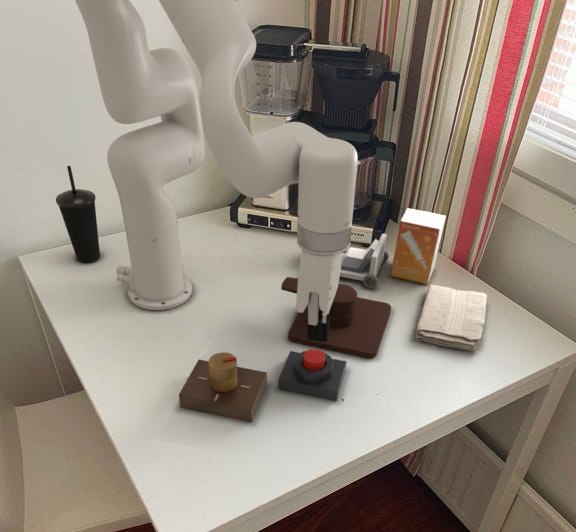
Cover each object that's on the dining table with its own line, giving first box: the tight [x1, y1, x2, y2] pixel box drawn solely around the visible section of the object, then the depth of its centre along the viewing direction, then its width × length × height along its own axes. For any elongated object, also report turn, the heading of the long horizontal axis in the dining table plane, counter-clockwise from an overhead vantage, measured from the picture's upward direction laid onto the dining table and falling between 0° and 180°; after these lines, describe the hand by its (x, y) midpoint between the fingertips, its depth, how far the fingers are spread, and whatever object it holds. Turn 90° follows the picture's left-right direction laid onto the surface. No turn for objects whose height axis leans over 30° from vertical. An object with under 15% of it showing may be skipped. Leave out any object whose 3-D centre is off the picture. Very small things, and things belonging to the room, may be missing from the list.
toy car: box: [340, 233, 390, 290], centre depth 128 cm, size 18×10×12 cm
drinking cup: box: [55, 165, 101, 264], centre depth 124 cm, size 8×8×20 cm
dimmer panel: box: [178, 359, 268, 423], centre depth 99 cm, size 12×9×3 cm
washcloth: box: [415, 284, 488, 352], centre depth 117 cm, size 12×18×3 cm, turn 163°
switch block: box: [277, 350, 347, 402], centre depth 103 cm, size 10×8×4 cm
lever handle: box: [280, 276, 392, 360], centre depth 114 cm, size 16×7×20 cm
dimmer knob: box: [208, 351, 238, 392], centre depth 97 cm, size 4×4×5 cm
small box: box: [390, 207, 447, 286], centre depth 126 cm, size 8×6×13 cm
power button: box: [303, 348, 325, 371], centre depth 101 cm, size 4×4×2 cm
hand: (317, 337), depth 98 cm, fingers closed
